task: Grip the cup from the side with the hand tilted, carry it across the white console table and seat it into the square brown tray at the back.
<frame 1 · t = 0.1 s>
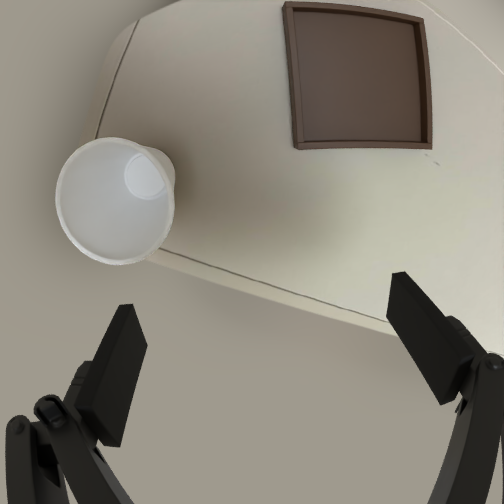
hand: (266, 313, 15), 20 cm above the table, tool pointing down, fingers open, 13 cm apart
square brown tray: (360, 75, 28), on the table
cup: (148, 175, 32), on the table
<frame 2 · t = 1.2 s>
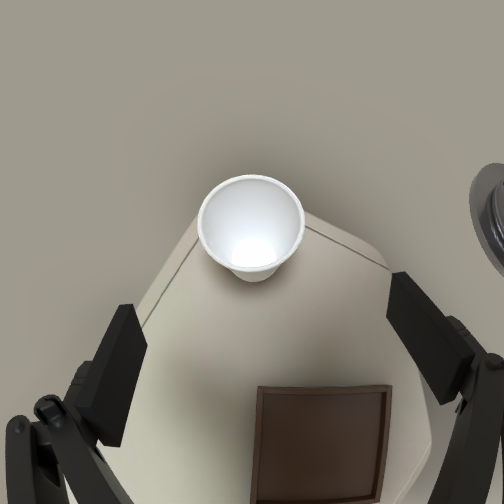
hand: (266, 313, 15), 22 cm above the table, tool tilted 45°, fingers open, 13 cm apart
square brown tray: (320, 448, 31), on the table
cup: (253, 259, 39), on the table
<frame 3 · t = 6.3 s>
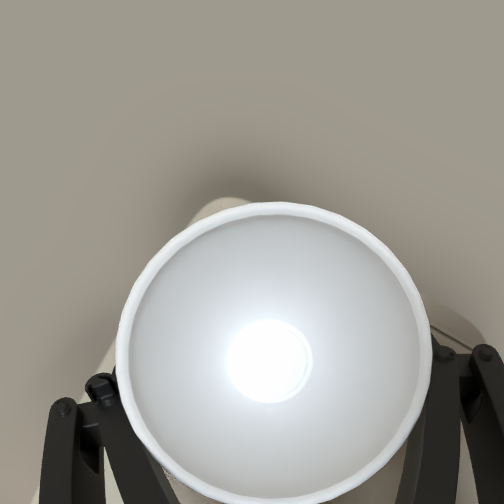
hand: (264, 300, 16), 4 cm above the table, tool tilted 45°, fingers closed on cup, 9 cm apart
cup: (270, 361, 19), on the table, touching gripper
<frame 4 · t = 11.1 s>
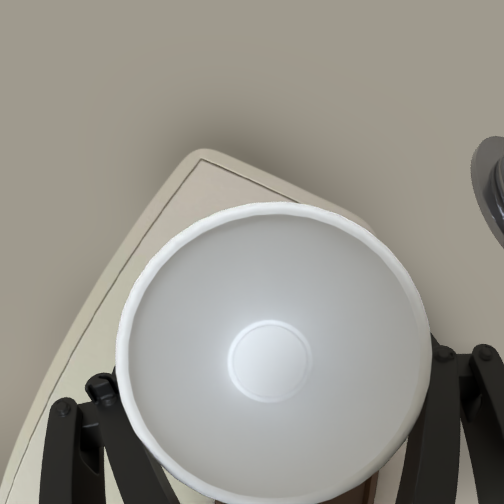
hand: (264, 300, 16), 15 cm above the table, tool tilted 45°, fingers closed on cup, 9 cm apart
square brown tray: (299, 456, 26), on the table
cup: (270, 361, 19), point 11 cm above the table, touching gripper
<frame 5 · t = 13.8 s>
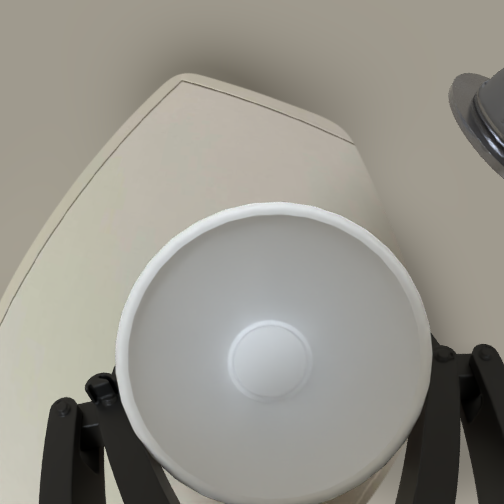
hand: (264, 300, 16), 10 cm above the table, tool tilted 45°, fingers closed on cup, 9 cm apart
cup: (270, 361, 19), point 6 cm above the table, touching gripper
when the fingers open (4 cm above the table, at t = 15.8 s): cup stays where it is, resting on square brown tray.
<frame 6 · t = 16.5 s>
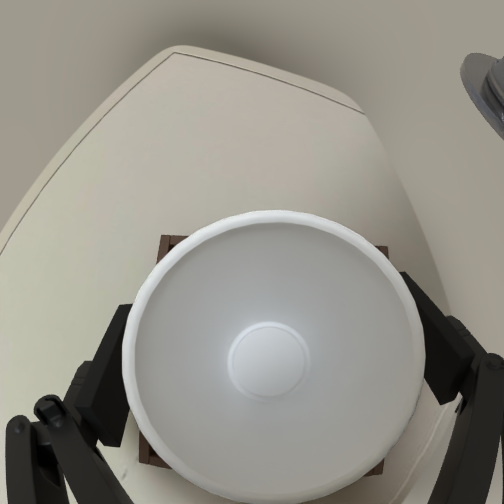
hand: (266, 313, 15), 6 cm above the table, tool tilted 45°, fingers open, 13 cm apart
square brown tray: (268, 361, 20), on the table
cup: (269, 362, 19), resting on square brown tray
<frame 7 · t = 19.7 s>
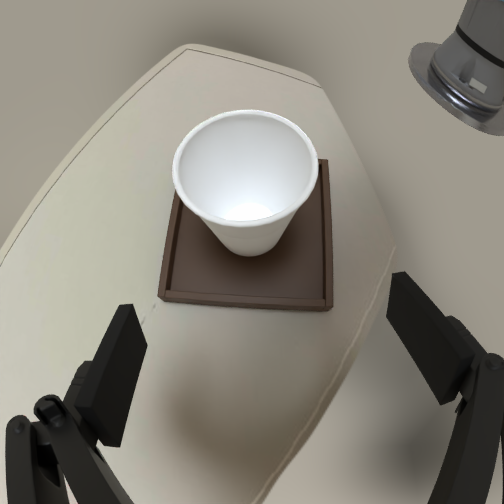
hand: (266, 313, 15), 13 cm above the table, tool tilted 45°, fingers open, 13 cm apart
square brown tray: (250, 230, 31), on the table
cup: (250, 228, 31), resting on square brown tray
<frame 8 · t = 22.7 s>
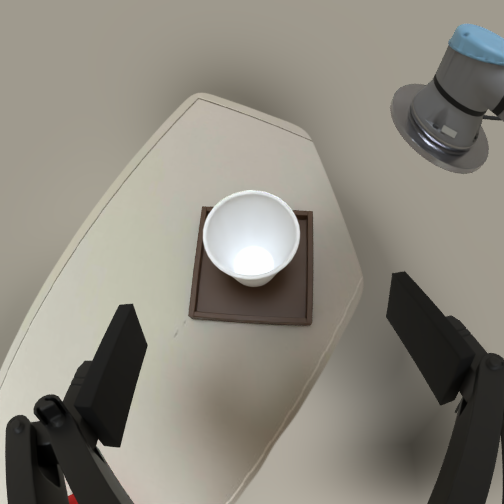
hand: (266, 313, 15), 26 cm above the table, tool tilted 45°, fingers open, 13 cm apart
square brown tray: (254, 266, 43), on the table
cup: (253, 265, 43), resting on square brown tray
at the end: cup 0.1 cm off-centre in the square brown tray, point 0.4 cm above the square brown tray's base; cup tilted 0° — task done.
